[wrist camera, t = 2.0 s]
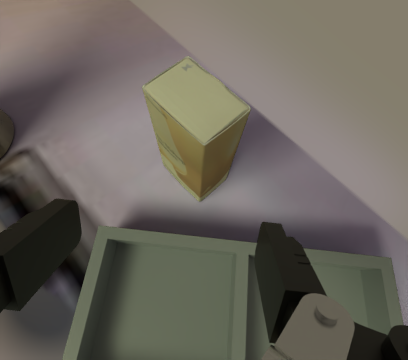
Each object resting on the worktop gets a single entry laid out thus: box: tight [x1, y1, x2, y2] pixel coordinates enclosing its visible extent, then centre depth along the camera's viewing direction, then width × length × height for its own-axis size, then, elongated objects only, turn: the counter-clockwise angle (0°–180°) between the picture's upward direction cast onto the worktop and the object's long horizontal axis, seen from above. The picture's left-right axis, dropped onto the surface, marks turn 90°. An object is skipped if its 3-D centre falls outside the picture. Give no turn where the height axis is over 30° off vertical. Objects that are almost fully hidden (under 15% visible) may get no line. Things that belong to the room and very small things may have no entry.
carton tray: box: [62, 226, 403, 360], centre depth 19 cm, size 25×13×4 cm, turn 84°
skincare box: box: [142, 56, 251, 202], centre depth 21 cm, size 6×4×12 cm
